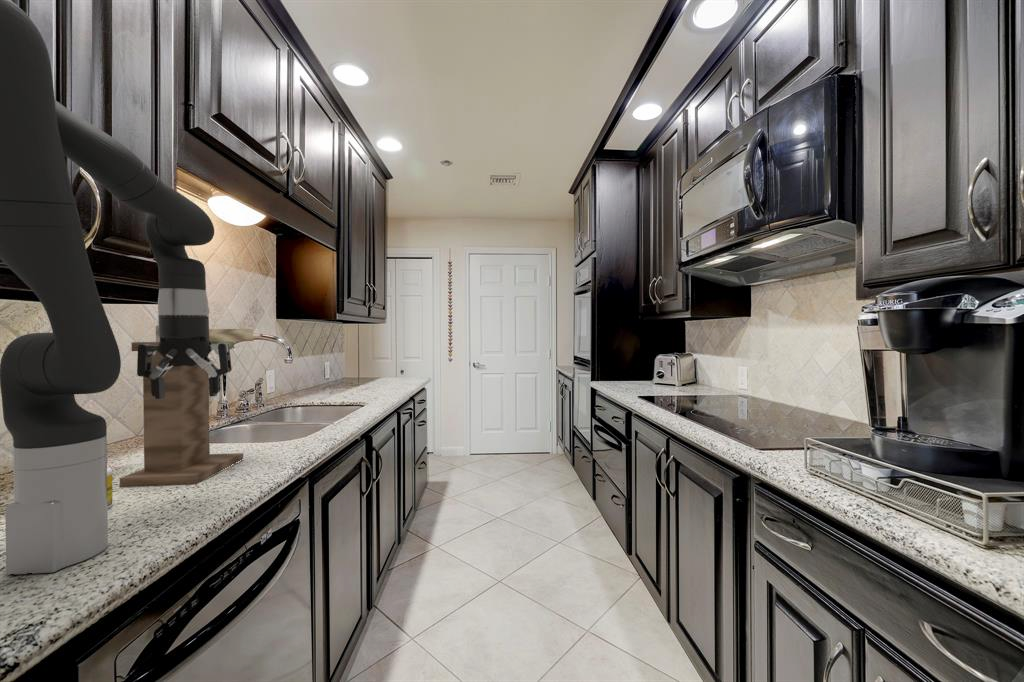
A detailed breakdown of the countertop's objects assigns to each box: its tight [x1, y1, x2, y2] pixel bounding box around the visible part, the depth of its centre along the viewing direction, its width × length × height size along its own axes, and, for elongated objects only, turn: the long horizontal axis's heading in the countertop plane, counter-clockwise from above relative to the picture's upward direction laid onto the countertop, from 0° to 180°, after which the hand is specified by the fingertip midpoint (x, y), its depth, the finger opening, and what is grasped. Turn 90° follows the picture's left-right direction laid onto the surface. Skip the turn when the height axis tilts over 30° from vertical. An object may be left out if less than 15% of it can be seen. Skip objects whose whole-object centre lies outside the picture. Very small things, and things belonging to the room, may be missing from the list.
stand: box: [119, 341, 244, 488], centre depth 99 cm, size 18×16×32 cm
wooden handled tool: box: [155, 324, 254, 342], centre depth 99 cm, size 20×5×4 cm, turn 95°
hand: (187, 397), depth 78 cm, fingers open, 8 cm apart
